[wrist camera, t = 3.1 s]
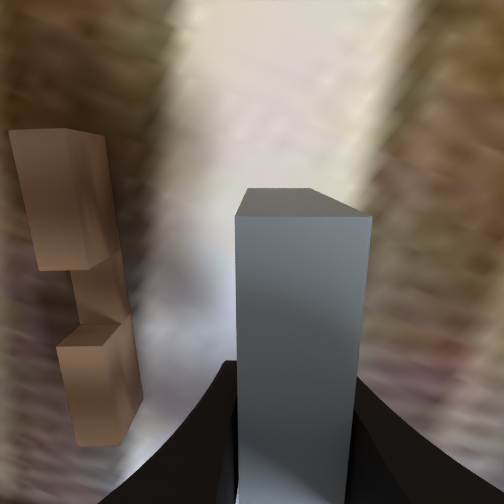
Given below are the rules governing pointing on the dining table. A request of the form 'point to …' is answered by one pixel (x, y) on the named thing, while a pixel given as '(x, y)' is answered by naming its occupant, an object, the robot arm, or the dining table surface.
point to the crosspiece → (297, 342)
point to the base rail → (83, 274)
